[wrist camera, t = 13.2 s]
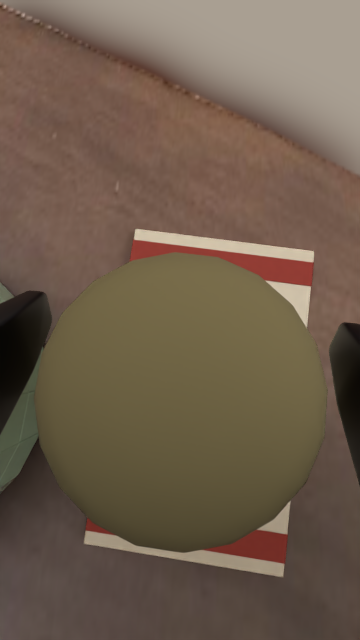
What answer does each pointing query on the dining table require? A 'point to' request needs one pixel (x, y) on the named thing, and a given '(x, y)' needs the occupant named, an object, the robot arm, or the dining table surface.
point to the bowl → (18, 425)
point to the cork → (180, 402)
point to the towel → (294, 285)
